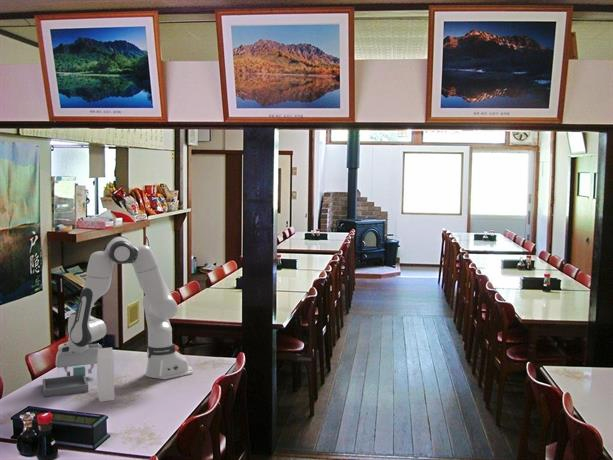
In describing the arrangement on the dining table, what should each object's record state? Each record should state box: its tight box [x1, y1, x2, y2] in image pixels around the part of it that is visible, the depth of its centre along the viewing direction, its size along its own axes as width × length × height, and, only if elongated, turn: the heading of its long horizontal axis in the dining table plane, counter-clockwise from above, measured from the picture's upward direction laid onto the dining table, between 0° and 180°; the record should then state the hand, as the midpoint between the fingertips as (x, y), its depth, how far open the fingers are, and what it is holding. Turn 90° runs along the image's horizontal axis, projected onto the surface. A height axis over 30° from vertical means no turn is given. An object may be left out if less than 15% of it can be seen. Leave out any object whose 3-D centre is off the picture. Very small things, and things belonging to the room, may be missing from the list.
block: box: [72, 365, 86, 376], centre depth 288 cm, size 5×5×5 cm
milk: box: [96, 347, 115, 403], centre depth 261 cm, size 6×6×22 cm
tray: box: [42, 373, 89, 398], centre depth 273 cm, size 18×16×3 cm
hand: (79, 374), depth 288 cm, fingers open, 8 cm apart
